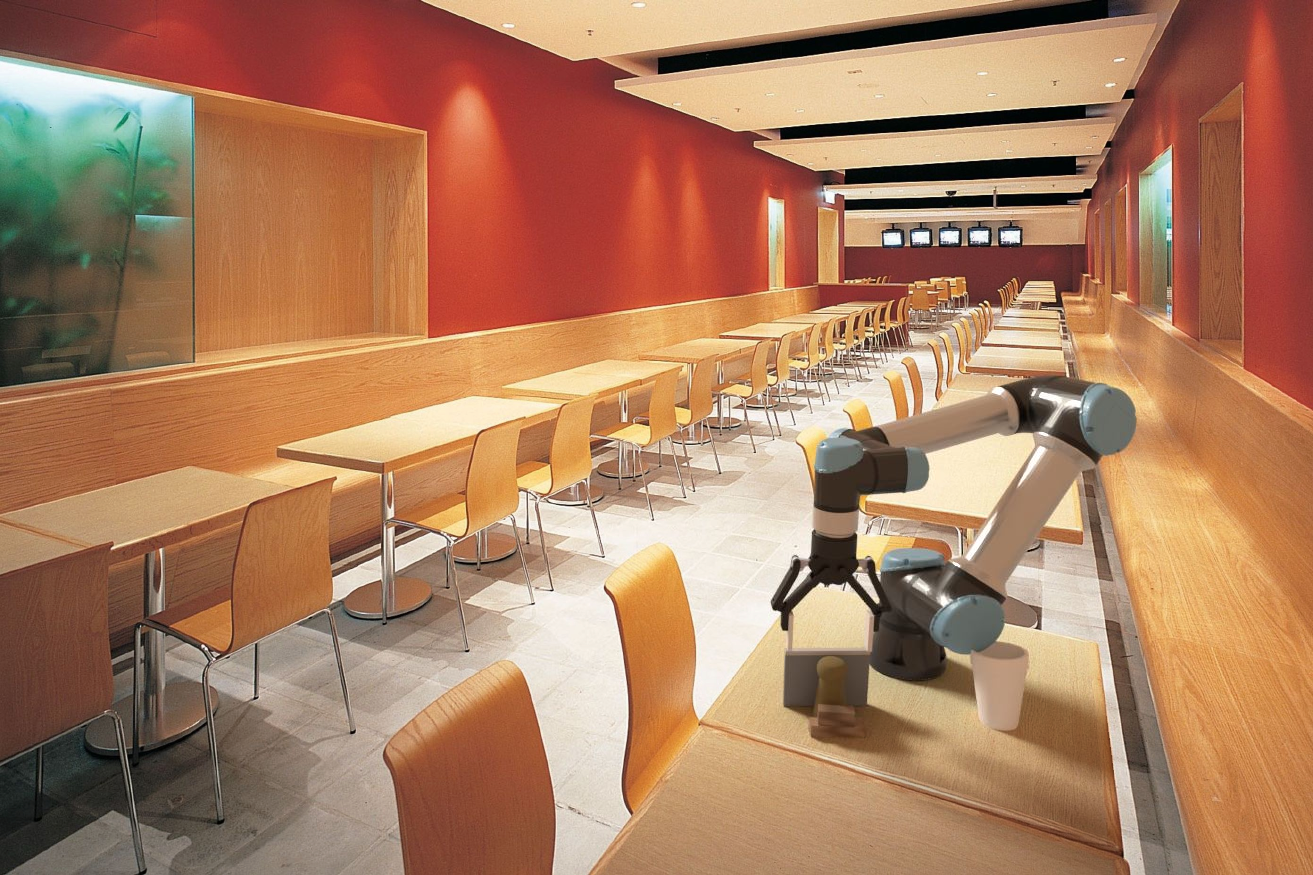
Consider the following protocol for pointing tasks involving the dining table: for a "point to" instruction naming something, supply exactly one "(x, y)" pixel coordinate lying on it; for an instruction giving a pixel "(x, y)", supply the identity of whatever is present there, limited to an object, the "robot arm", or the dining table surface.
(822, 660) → the cork
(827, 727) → the offcut low
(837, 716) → the offcut top
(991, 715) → the foam cup
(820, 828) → the dining table surface
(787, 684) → the board
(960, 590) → the robot arm
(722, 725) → the dining table surface
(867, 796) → the dining table surface
